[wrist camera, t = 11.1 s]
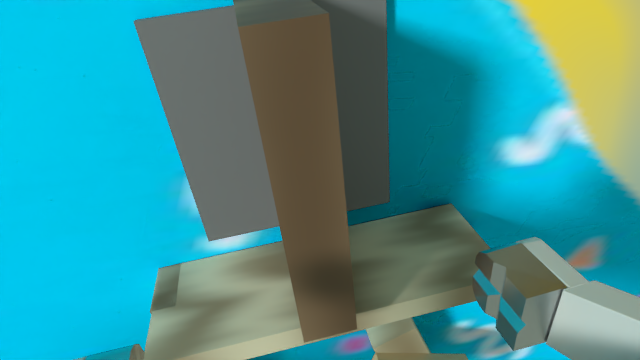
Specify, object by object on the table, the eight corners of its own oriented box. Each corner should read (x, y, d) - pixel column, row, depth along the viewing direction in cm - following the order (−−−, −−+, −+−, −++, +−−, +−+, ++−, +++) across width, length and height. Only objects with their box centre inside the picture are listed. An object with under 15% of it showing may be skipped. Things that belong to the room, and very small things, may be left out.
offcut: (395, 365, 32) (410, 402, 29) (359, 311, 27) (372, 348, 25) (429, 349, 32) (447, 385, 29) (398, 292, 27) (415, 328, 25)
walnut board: (282, 233, 22) (304, 342, 16) (232, -7, 15) (237, 26, 9) (321, 224, 22) (357, 329, 16) (288, -15, 15) (328, 13, 10)
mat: (209, 236, 21) (208, 241, 21) (135, 19, 15) (133, 21, 15) (387, 198, 22) (389, 202, 22) (382, -17, 16) (385, -16, 16)
